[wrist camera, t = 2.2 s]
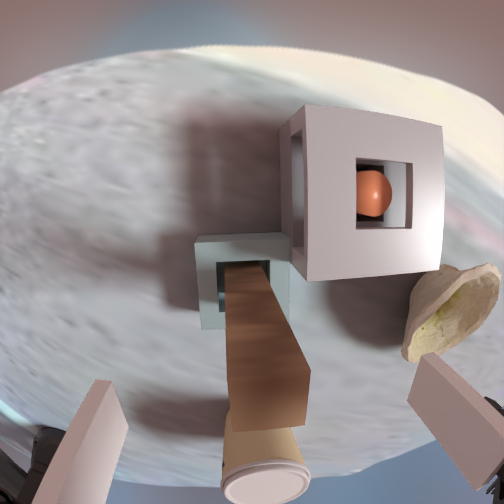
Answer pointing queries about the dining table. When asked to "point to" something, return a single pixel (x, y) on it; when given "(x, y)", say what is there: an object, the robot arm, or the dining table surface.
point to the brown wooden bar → (261, 354)
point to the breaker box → (344, 193)
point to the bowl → (448, 308)
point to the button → (372, 193)
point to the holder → (239, 249)
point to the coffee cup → (262, 466)
